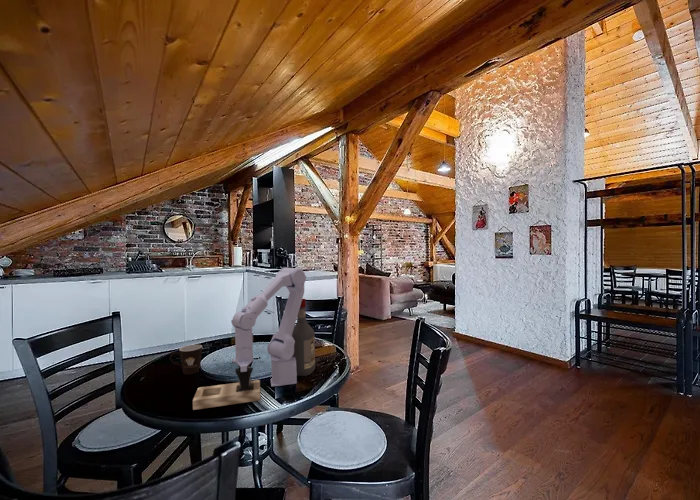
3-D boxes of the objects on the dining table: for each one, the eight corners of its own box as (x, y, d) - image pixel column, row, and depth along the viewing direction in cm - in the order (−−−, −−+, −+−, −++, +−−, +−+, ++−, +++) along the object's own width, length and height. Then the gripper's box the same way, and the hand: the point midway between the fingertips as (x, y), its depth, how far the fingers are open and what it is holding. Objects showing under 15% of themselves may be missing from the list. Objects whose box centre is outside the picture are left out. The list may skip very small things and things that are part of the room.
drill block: (260, 387, 121) (259, 379, 121) (260, 400, 112) (260, 391, 112) (198, 396, 115) (198, 387, 115) (192, 409, 106) (192, 400, 106)
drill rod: (251, 392, 118) (250, 364, 117) (251, 397, 114) (250, 369, 113) (239, 394, 116) (238, 366, 116) (239, 399, 113) (238, 370, 112)
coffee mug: (206, 367, 142) (206, 344, 142) (195, 375, 133) (194, 351, 133) (181, 367, 143) (180, 344, 143) (168, 375, 135) (167, 350, 134)
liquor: (287, 375, 132) (286, 301, 132) (296, 366, 141) (295, 297, 141) (308, 376, 130) (307, 301, 129) (316, 368, 139) (315, 297, 138)
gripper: (233, 341, 120) (234, 377, 121) (230, 354, 107) (231, 395, 107) (253, 339, 122) (254, 375, 123) (253, 351, 108) (254, 392, 109)
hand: (245, 384), depth 115 cm, fingers open, 6 cm apart
